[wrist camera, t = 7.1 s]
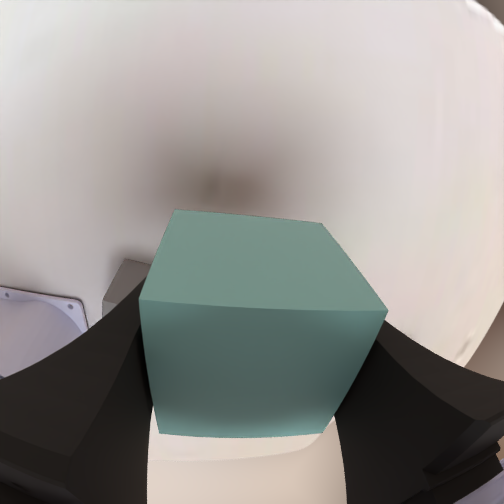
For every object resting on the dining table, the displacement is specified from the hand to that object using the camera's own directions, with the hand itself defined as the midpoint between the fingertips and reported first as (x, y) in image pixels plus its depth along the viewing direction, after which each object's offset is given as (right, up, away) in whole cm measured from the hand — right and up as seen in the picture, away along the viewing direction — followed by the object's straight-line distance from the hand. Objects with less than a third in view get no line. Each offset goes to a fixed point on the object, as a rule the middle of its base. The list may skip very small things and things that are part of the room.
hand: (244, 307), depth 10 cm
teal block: (0, +1, +1) cm, 2 cm away
